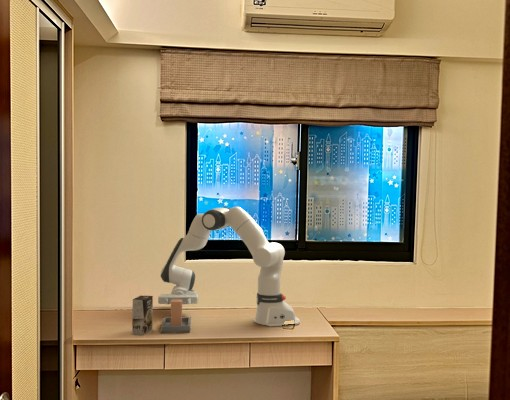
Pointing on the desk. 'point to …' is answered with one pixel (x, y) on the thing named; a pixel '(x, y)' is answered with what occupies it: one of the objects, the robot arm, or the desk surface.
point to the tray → (168, 328)
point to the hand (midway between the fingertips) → (177, 302)
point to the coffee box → (142, 315)
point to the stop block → (176, 312)
